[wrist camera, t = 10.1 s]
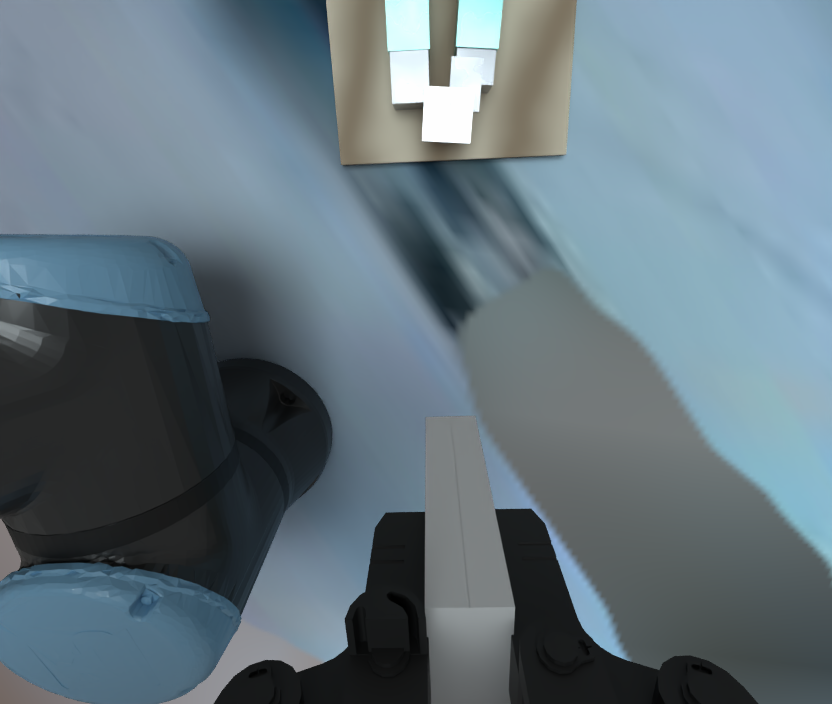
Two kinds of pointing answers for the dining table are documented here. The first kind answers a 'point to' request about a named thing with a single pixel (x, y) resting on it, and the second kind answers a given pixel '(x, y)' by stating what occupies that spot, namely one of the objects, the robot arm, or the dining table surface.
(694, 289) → the dining table surface
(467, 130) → the tongs arm
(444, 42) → the board
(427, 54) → the teal-banded grey bar
